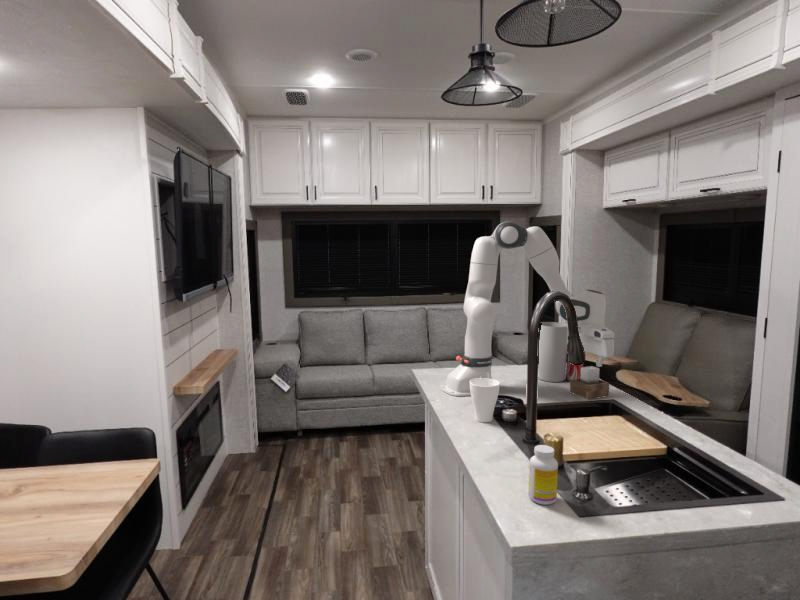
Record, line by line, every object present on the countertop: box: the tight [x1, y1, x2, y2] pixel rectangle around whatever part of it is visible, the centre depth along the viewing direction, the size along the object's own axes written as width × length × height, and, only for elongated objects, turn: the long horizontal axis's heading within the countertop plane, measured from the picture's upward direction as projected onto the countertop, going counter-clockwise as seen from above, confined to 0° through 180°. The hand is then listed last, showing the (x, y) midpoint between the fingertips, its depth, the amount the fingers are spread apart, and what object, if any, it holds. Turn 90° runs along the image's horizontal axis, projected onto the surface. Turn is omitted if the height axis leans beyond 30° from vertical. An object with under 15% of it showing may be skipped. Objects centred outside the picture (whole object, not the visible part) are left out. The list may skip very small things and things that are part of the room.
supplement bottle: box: [528, 444, 559, 506], centre depth 122 cm, size 7×7×13 cm
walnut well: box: [569, 378, 610, 400], centre depth 205 cm, size 11×10×6 cm
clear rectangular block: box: [580, 365, 600, 385], centre depth 204 cm, size 6×4×10 cm, turn 114°
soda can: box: [565, 360, 584, 382], centre depth 224 cm, size 7×7×13 cm
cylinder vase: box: [538, 321, 569, 383], centre depth 226 cm, size 12×12×25 cm
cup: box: [470, 378, 501, 423], centre depth 175 cm, size 10×10×14 cm
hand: (589, 363), depth 203 cm, fingers open, 8 cm apart
